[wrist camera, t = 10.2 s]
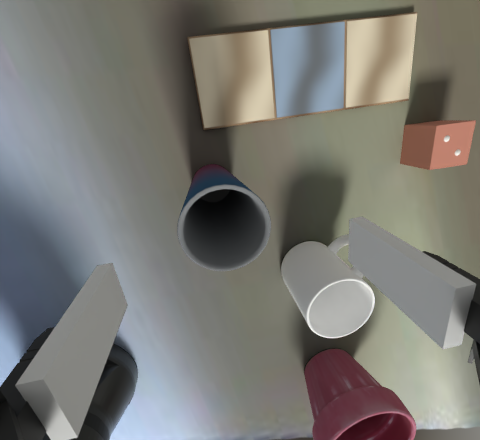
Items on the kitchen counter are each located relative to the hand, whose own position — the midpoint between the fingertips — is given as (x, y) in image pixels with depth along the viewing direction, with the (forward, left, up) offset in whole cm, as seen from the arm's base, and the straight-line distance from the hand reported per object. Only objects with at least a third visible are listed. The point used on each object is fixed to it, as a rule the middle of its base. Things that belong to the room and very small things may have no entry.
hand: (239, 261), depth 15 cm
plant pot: (+15, -37, -20) cm, 45 cm away
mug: (+13, -13, -20) cm, 27 cm away
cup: (0, 0, -20) cm, 20 cm away
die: (+28, +1, -20) cm, 34 cm away
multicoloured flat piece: (+12, +11, -20) cm, 26 cm away
